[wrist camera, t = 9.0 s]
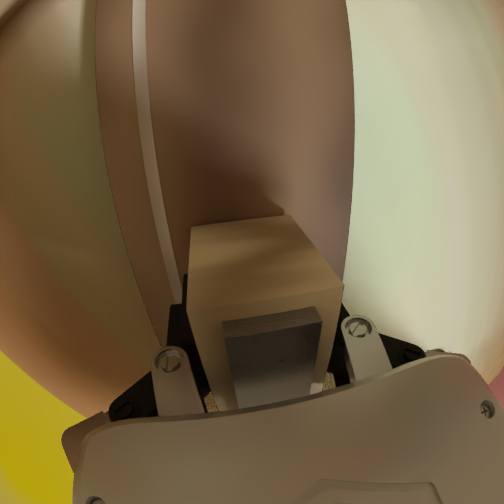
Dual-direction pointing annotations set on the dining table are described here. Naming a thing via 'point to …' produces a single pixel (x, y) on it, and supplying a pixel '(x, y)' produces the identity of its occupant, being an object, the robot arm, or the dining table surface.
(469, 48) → the dining table surface
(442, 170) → the dining table surface
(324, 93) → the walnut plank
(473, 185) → the dining table surface
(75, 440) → the robot arm
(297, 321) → the beige rectangular block
